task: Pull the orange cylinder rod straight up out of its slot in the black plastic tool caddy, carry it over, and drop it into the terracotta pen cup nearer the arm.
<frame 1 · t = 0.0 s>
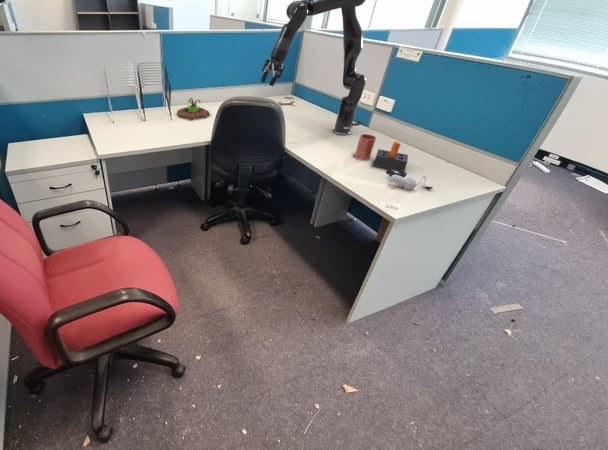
hand: (266, 83, 164), 31 cm above the table, tool tilted 20°, fingers open, 8 cm apart
pen cup: (361, 157, 171), on the table
plant: (192, 115, 222), on the table
orange cylinder rod: (388, 167, 160), resting in holder
clip-on lamp: (406, 186, 147), on the table
holder: (388, 166, 162), on the table
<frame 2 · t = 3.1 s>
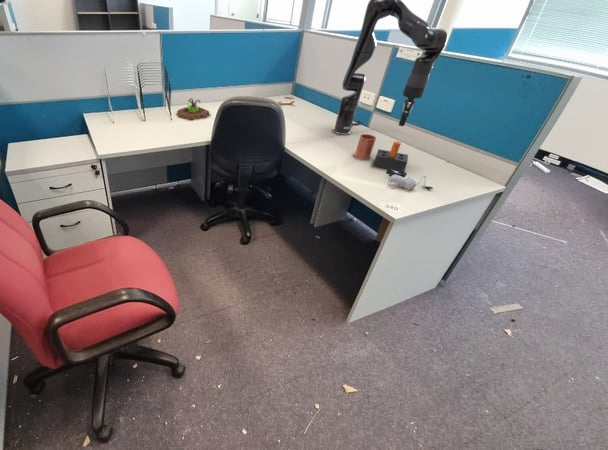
hand: (402, 123, 148), 22 cm above the table, tool pointing down, fingers open, 8 cm apart
nothing on the table moved.
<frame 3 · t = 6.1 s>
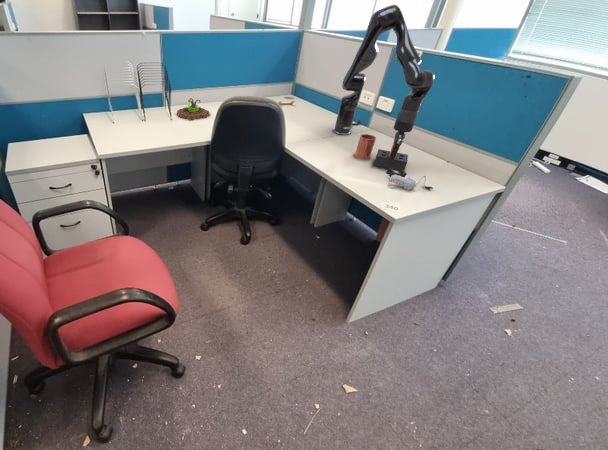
hand: (392, 155, 157), 7 cm above the table, tool pointing down, fingers closed on orange cylinder rod, 3 cm apart
orange cylinder rod: (388, 167, 160), point 1 cm above the table, touching gripper, holder
everything else where it was.
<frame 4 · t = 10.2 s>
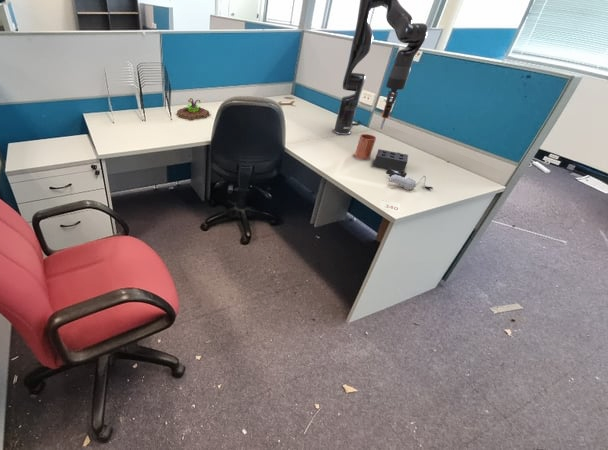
hand: (385, 115, 154), 23 cm above the table, tool pointing down, fingers closed on orange cylinder rod, 3 cm apart
orange cylinder rod: (381, 128, 158), point 17 cm above the table, touching gripper
everything else where it was.
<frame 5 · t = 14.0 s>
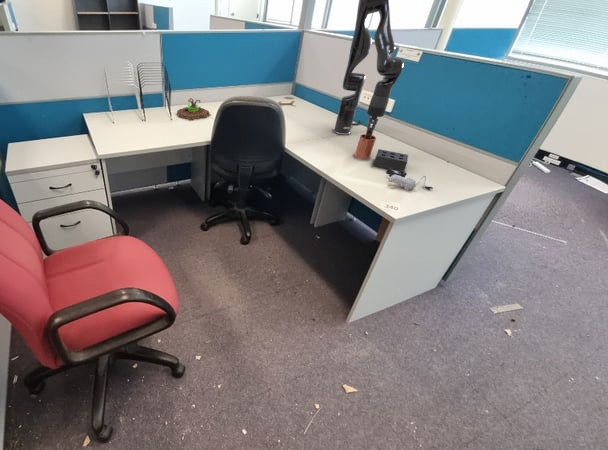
hand: (367, 139, 165), 9 cm above the table, tool pointing down, fingers closed on orange cylinder rod, 3 cm apart
orange cylinder rod: (363, 151, 169), point 3 cm above the table, touching gripper
everything else where it was.
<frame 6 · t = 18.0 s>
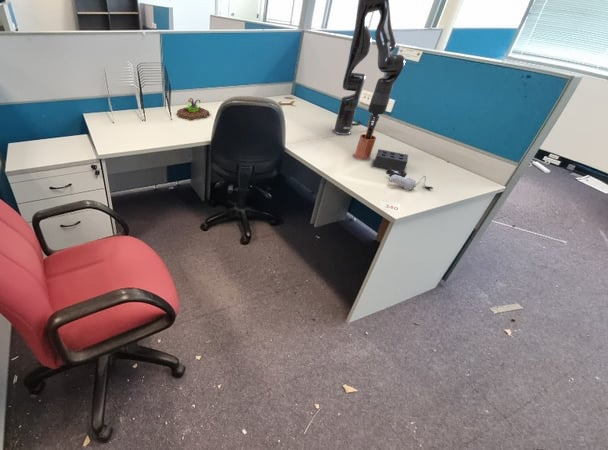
hand: (368, 137, 164), 11 cm above the table, tool pointing down, fingers closed on orange cylinder rod, 3 cm apart
orange cylinder rod: (364, 149, 168), point 5 cm above the table, touching gripper
everything else where it was.
when the fingers open (11 cm above the table, at t = 21.6 s): orange cylinder rod drops 5 cm, resting on pen cup.
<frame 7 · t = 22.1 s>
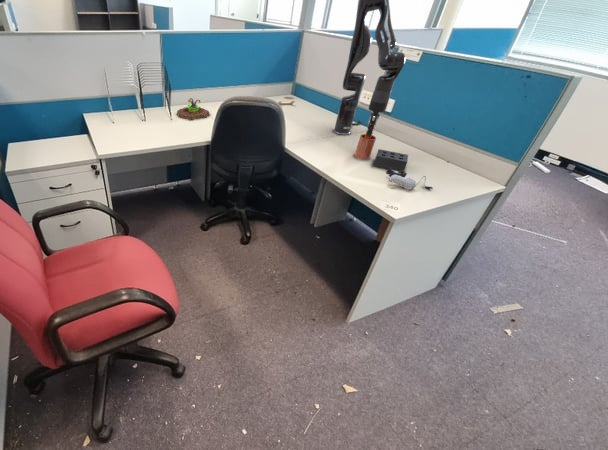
hand: (369, 133, 163), 13 cm above the table, tool pointing down, fingers open, 8 cm apart
orange cylinder rod: (362, 156, 170), point 1 cm above the table, tilted 5°, touching pen cup
everything else where it was.
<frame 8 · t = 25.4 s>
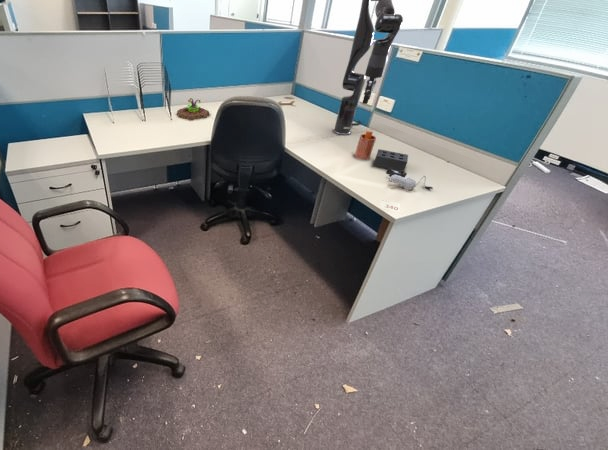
hand: (365, 101, 161), 26 cm above the table, tool pointing down, fingers open, 8 cm apart
nothing on the table moved.
at the end: orange cylinder rod 0.2 cm off-centre in the pen cup, point 0.7 cm above the pen cup's base; orange cylinder rod touching pen cup; the gripper is holding nothing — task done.
